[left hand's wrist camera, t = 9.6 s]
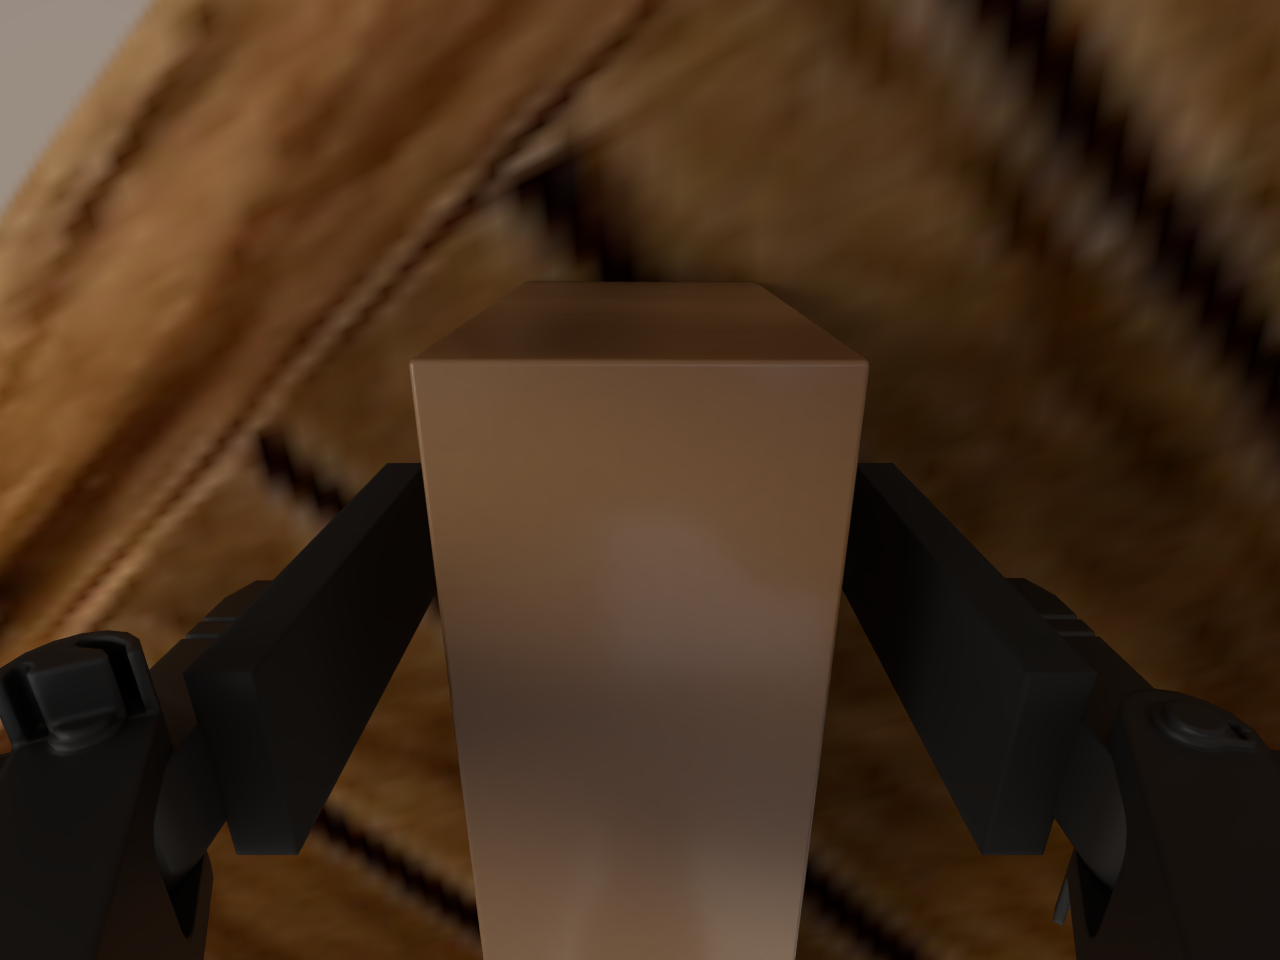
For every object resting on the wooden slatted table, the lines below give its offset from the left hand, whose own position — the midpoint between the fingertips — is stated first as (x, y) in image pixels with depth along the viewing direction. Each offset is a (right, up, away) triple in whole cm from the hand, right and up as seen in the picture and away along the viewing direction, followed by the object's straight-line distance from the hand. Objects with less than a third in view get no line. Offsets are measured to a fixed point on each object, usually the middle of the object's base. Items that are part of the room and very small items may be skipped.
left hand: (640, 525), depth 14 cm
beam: (0, -22, +12) cm, 25 cm away
